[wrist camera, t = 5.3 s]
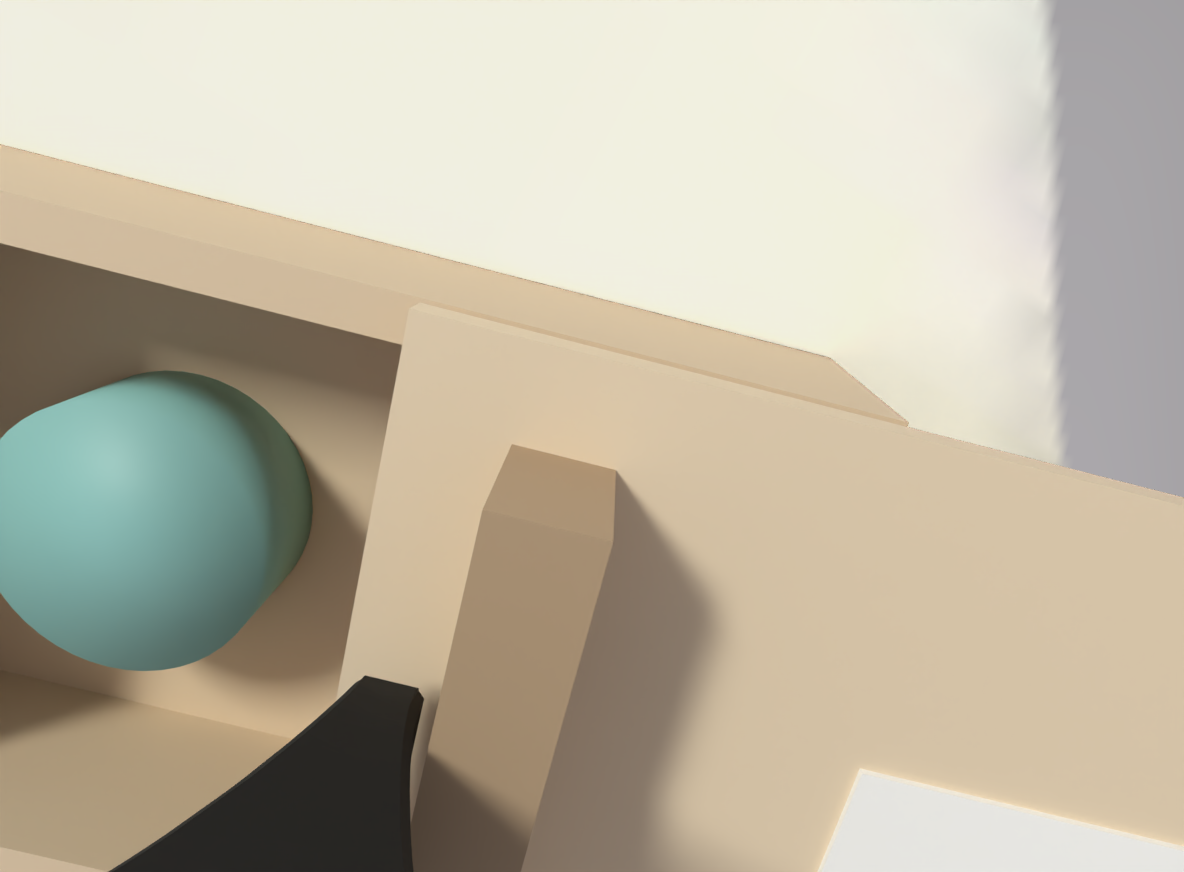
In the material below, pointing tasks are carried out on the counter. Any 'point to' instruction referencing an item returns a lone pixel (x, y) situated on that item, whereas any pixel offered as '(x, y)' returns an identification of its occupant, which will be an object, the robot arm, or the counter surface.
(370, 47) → the counter surface
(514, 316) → the box
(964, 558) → the lid
